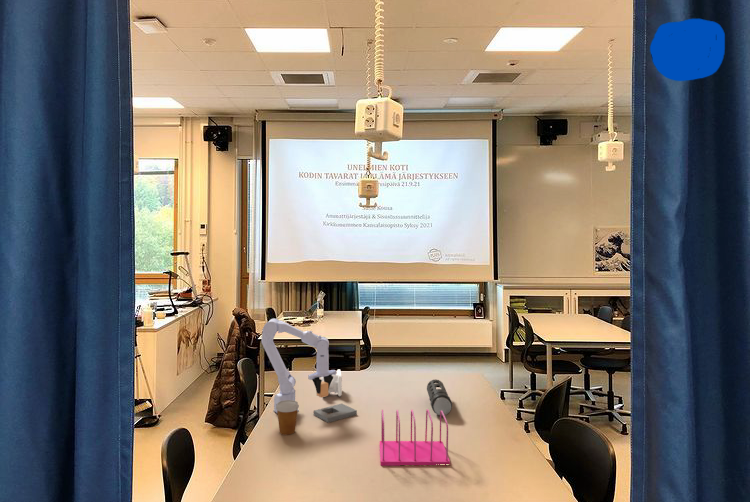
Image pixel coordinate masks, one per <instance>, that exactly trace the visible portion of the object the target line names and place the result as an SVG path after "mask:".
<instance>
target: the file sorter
mask: <svg viewBox="0 0 750 502" xmlns="http://www.w3.org/2000/svg"><path fill="white" fill-rule="evenodd" d="M410 410H411V411H410V440H401V419H400V413H399V409H396V412H395V413H396V414H395V415H396V417H395V418H396V419H395V422H396V423H395V427H396V428H395V429H396V430H395V438H396V439H395V440H385V417H384V409H381V440H380V441H379V460H380V461H379V463H380V466H382V467H383V466H387V467H390V466H391V467H394V466H395V467H401V466H400V465H436V464H437V465H438V464H439V465H440V464H445V465H446V464H450V465H451V461H450V458H449V422H448V420H447V418H446V415H444V413H443V411H442V410H441V411H440V415H439V441H437V440H434V441H433V439H434V438H433V437H434V436H433V435H434V424H433V423H434V422H433V418H432V416H431V412H430V410H429V408H427V409H426V411H425V412H426V413H425V432H424V436H425V437H424V440H416V439H417V438H416V437H417V433H416V432H417V431H416V430H417V428H416V427H417V426H416V418H415V414H414V409H410ZM441 414H442V415H443V416H441ZM442 417H443V419H444V422H445V425H446V437H445V440H446V442H445V443H446V444H444V442H443V440H442ZM428 418H429V420H430V423H431V424H430V427H431V430H430V433H431V434H430V440H427V439H428V437H427V436H428ZM413 432H414V434H413ZM413 439H414V440H413Z"/></svg>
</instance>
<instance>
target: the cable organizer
mask: <svg viewBox="0 0 750 502" xmlns="http://www.w3.org/2000/svg"><path fill="white" fill-rule="evenodd" d="M332 376H333V379H332V381H331V383H330V386H329V390H328V394H330V393H334V394H337V396H338V397H342V394H343V391H342V389H343V388H342V387H343V383H342V382H343V380H342V379H343V378H342V377H343V376H342V371H341V369H337V370H336V375H332ZM320 379H321V380H322V381H324V377H320ZM325 397H327V396H325ZM325 397H324V398H325Z"/></svg>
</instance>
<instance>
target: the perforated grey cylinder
mask: <svg viewBox="0 0 750 502" xmlns="http://www.w3.org/2000/svg"><path fill="white" fill-rule="evenodd" d="M426 391H427V394H428V395H427V396H428V397H429V401H430V406H431V410H432V411H433V413H435V414H436V415H438V416H440V411H441V410H442V411H443V413H444V416H446V415H448V414H449V413H450V412H451V411H452V408H453V403H452V402H453V401H452V400H451V397H450V396H449V394H448V392H447V389H446V388H445V385H444V383H443V382H442V381H441V380H439V379H432V380H430V381H428V382H427V385H426ZM441 417H443V415H442V414H441Z"/></svg>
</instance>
